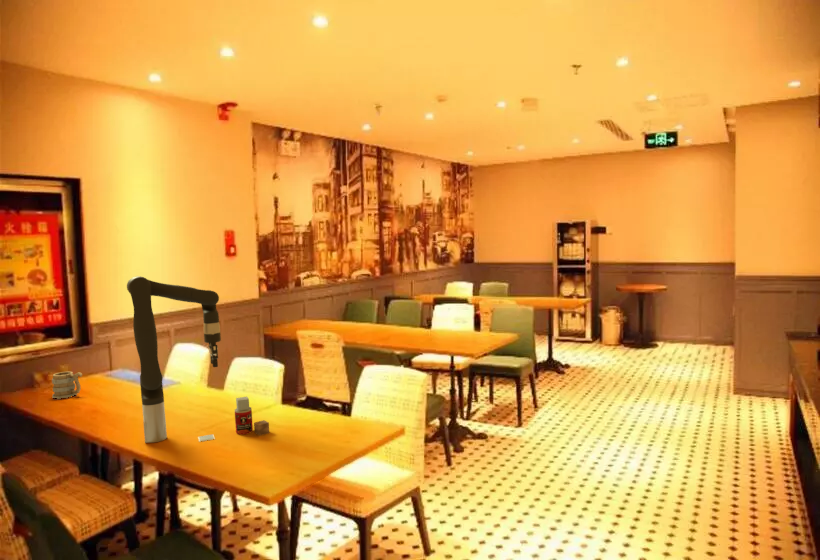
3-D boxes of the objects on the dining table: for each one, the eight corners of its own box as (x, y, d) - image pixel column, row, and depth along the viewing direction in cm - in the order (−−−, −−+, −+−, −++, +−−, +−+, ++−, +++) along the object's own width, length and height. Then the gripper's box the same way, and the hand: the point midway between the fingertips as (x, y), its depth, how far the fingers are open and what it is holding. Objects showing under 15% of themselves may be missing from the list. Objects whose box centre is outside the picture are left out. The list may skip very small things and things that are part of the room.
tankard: (47, 398, 349) (45, 374, 348) (65, 393, 361) (63, 369, 360) (73, 400, 343) (71, 375, 342) (91, 394, 356) (89, 370, 354)
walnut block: (259, 435, 269) (258, 425, 268) (254, 433, 273) (253, 422, 272) (269, 433, 272) (268, 422, 271) (264, 430, 276) (263, 420, 275)
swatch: (199, 441, 263) (199, 441, 263) (197, 437, 270) (197, 436, 270) (215, 439, 266) (214, 438, 266) (213, 434, 272) (213, 433, 272)
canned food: (235, 435, 270) (234, 412, 269) (236, 430, 278) (234, 407, 277) (253, 433, 272) (251, 410, 271) (252, 428, 280) (251, 405, 279)
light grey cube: (238, 411, 270) (237, 400, 270) (236, 408, 275) (236, 398, 275) (249, 409, 272) (248, 399, 272) (247, 406, 277) (247, 396, 277)
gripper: (202, 330, 286) (204, 363, 287) (205, 334, 273) (207, 369, 274) (218, 329, 289) (220, 361, 290) (222, 333, 276) (224, 367, 277)
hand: (214, 365), depth 282 cm, fingers open, 8 cm apart
